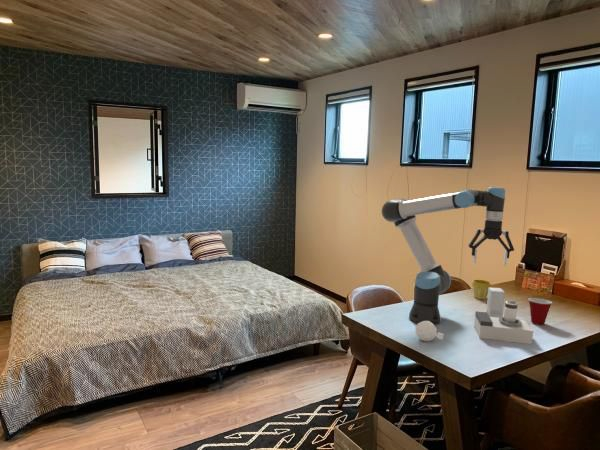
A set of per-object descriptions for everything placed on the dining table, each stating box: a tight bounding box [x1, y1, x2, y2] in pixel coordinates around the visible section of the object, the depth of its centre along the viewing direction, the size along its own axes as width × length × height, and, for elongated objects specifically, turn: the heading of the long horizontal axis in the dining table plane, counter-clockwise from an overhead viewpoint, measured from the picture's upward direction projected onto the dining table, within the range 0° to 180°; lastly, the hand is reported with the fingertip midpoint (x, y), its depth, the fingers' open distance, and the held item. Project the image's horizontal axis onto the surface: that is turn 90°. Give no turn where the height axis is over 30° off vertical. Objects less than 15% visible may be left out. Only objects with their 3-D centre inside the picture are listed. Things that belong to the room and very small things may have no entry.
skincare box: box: [486, 287, 506, 318], centre depth 229 cm, size 8×7×16 cm
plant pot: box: [471, 279, 492, 300], centre depth 266 cm, size 10×10×10 cm
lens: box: [503, 300, 519, 323], centre depth 206 cm, size 5×5×10 cm
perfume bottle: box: [415, 321, 445, 342], centre depth 197 cm, size 9×9×12 cm
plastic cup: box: [527, 297, 553, 326], centre depth 226 cm, size 11×11×12 cm
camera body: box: [473, 310, 534, 345], centre depth 207 cm, size 22×14×8 cm, turn 78°
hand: (489, 263), depth 216 cm, fingers open, 13 cm apart
